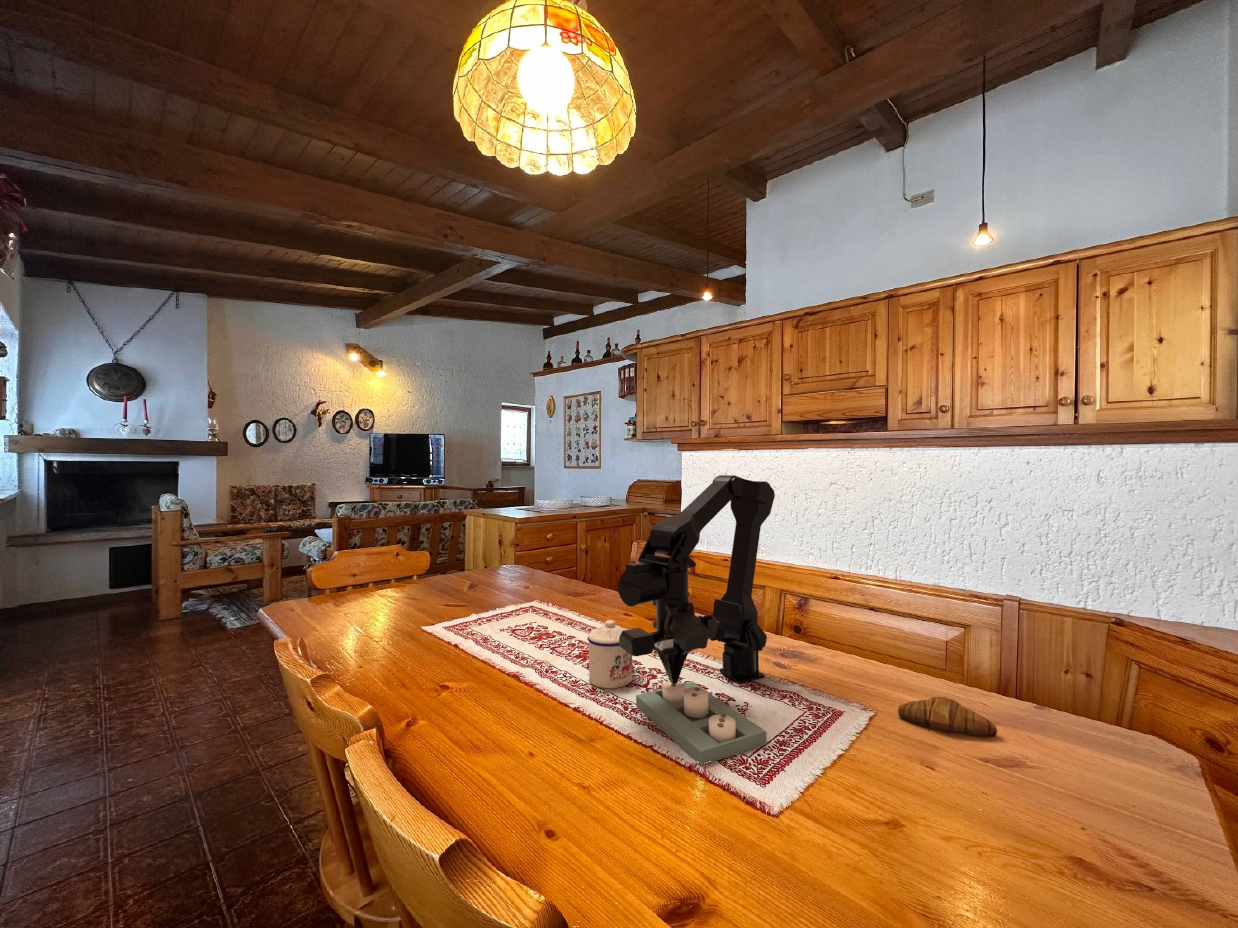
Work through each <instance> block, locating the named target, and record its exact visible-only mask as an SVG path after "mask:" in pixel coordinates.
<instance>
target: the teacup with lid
mask: <svg viewBox="0 0 1238 928" xmlns="http://www.w3.org/2000/svg"><path fill="white" fill-rule="evenodd" d="M623 630H628V629H627V628H624V627H621V626H619V625H617V624H616V622H615V620H611V619H607V620H606V621H605V622H604V625H602V626H600V627H597V628H595V629H592V630H591V631H590V632H589V633H588V635H587V637H586V638H587V639H586V640H587V641H588V672H589V673H588V674H589V676H588V678H589V679H588V680H589V681H590V683H591V684H592V685H594V686H595V687H599V688H601V689H617V688H621V687H624V686H627V685H628V684H630V683H631V682H632V680H633V656H632V655H631V654H629V653H628V652H627V651H625V650H624V649H623V648H621V647H620V646H619V636H620V635H621V633H622V631H623Z"/></svg>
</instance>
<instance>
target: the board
mask: <svg viewBox="0 0 1238 928" xmlns="http://www.w3.org/2000/svg"><path fill="white" fill-rule="evenodd" d="M684 684H685V689H687V688H690V687H699V688H703V687H702V686H700V685H699V684H697V683H696V682H694V681H689V682H686V683H684ZM635 706H636V707H637V709H639V711H640V712H642V714H644V715H645V716H646V717H647V718H648V719H649V720H650V721H652V722H653V724H655V725H656V726H657V727H658V728H659V729H660V730H661V731H663V733H664V734H666V735H667V736H668V737H669V738H670V739H671V740H672V741H673V742H674V743H675V744H677V745H678V746H679V747H680V749H682V750H683V751H684V752H685V753H686V754H688V755H689V757H690V758H692V759H693V760H694V761H695V762H696V761H698V762H699V763H700V764H704V763H706V762H709V761H714V762H717V761H720V760H722V758H723V759H726V758H729V757H731V756H732V757H733V756H735V755H737V754H741V753H744V752H747V751H750V750H754V749H757V748H759V747H763V746H766V745H767V730H765V729H764V728H762V727H761V726H759V725H758V724H756V723H755V722H753V721H752V720H750V719H749V718H747V717H746V716H744V715H743V714H742V713H740V712H739V711H738V710H735V708H732V707H731V706H729V705H728V704H727V703H726V702H724V701H722V700H721V699H719V698H718V697H716V696H715V695H714V694H712V693H711V692H709V691H708V712H709V713H708V715H707V716H705V717H702V718H693V717H690V716H687V715H686V714H685V713H684V700H682V701H678V702H674V703H670V704H669V703H667V702H666V701H665V700H664V699H663V692H662V688H660V689H656V690H652V691H648V692H643V693H640V694H639V693H638V694H636V695H635ZM722 713H724V714H726V715H727V716H730V717H732V718H733V719H734V720H735V726H736V739H733V740H729V741H726V742H723V743H720V744H718V743H717V742H716V741H715V740H713V739H712V738H711V737H710V736H709V718H710V717H711V716H713V715H718V714H722ZM765 744H766V745H765ZM762 745H763V746H762ZM699 763H698V764H699ZM700 764H699V765H700Z"/></svg>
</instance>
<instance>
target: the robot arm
mask: <svg viewBox="0 0 1238 928" xmlns="http://www.w3.org/2000/svg"><path fill="white" fill-rule="evenodd" d="M775 496H776V495H775V490H774V488H773V487H772V485H771V484H770V483H769V482H768V481H763V480H762V481H759V480H751V479H745V478H743V477H740V476H738V475H733V474H731V475H729V474H728V475H724V474H723V475H722V474H721V475H717V476H716V477H714V478H713V480H712V483H710V484H709V485H708V486H707V487H706V488H705V489H704V490H703V491H702V492H700V494H699V495H698V496H697V497H696V498H695V499H693V501H691V502H690V503H689V504H688V505H687V506H686V507H685V508H684V509H683V510H682V511H681V512H678V513H677V514H675V515H671V516H667V517H665V518H664V519H661V521H659V522H657V523H656V524H654V525H653V526H652V528H651V529H650V531H649V536H648V538H647V540H646V541H645V544H644V546H643V548H642V551H641V552H640V555H639V556H638V558H637V562H636V563H633V562H630V563H626V564H625V571H624V572H622V573H621V575H620V577H619V579H618V582H617V592H618V595H619V597H620V599H621V601H622V602H623V603H624V604H625V605H626V606H628V607H635V606H639V605H643V604H647V603H651V602H652V606H655V607H656V608H655V609H656V610H655V612H656V616H655V617H656V620H654V621H652V627H653V628H654V629H655V630H656V631H651V632H649V631H648V632H647V631H646V630H645V629H643V628H641V627H636V628H635V627H634V628H629V629H627V630H623V631H622V633H621V635H620V636H619V646H620V647H621V648H623V649H624V650H625V651H627V652H628V653H629V654H631V655H632V657H642V656H645V655H650V654H652V653H653V652H654V651H656V654H657V655H658V657H659V659H660V661H661V663H662V666H663V668H664V670H665V673H666V675H667V678H668V679H669V680H668V681H670V682H671V683H672V684H676V683H677V682H678V681H679V679H680V676H681V673H682V670H683V667H684V665H685V664H684V663H685V662H686V659H687V657H688V655H689V654H690V653H691V652H692V651H693V650H694V651H695V650H698V649H706V648H707V646H708V642H709V640H710V641H711V642H714V641H717V642H719V643H723V652H722V668H719V672H720V673H721V674H722V675H725V676H727V677H728V678H730V679H731V680H733V681H734V682H735V683H739V684H742V683H744V682H749V681H755V680H757V679H760V678H765V673H763V672H761V671H760V670H759V669H760V668H759V667H760V665H759V663H760V662H759V661H760V659H759V652H761V651H763V650H764V649H763V648H765V647H766V644H767V639H768V636H767V634H766V633H765V631H764V630H763V629H762V628H761V627H760V625H759V624H758V610H757V608H756V604H755V602H754V599H753V597H752V594H753V593H752V592H753V588H754V587H753V585H754V580H755V579H754V578H755V572H756V564H757V558H758V550H759V541H760V533H761V527H762V525H763V523H764V522H765V521H766V520H767V518H768V517H769V516H770V515H771V513H772V509H773V504H774V501H775ZM729 502H730V510H731V513H732V514H733V517H734V519H735V526H734V527H735V528H734V533H733V534H734V535H733V543H732V550H731V557H730V564H729V568H728V569H729V571H728V577H727V584H726V591H725V593H724V594H723V596H722V597H721V598H720V599H718V598H715V600H714V602H713V610H712V614H708V615H703V616H702V615H698V616H697V615H696V614H695V610H694V609H695V608H694V604H693V602H691V601H690V598H689V569H691V568H695V567H696V566H697V563H696V562H695V561H694V560H693V559H691V558H690V555H691V554H692V553H693V551H694V549H695V548H696V547H697V545H698V544H699V542H700V537H701V536H700V535H701V532H702V531H703V529H704V528H705V527H706V526H707V525H708V524H709V523H710V522H711V521H712V520H713V519H714V518H715V517H716V516H717V515H718V514H719V513H720V512H721V511H722V509H724V508H725V507H726V506H727V505H728V504H729Z"/></svg>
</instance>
